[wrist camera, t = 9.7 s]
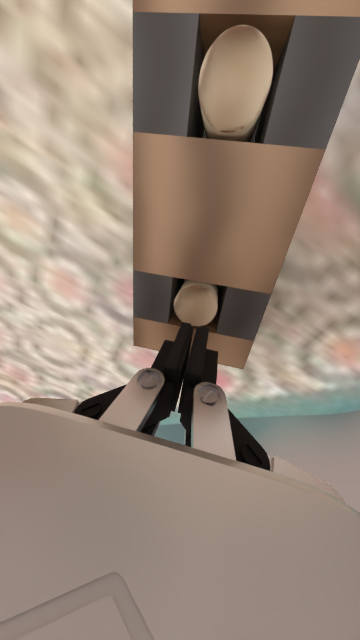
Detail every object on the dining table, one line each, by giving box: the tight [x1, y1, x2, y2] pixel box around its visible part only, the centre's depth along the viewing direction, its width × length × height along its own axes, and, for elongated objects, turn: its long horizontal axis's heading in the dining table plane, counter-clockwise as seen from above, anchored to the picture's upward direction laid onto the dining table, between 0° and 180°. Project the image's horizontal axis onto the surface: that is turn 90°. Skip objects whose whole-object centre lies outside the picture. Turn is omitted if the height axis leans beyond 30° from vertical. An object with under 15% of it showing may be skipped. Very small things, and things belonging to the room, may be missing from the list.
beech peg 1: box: [174, 279, 218, 326], centre depth 21 cm, size 4×4×8 cm
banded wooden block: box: [133, 0, 360, 369], centre depth 18 cm, size 12×26×8 cm, turn 173°
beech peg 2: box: [198, 25, 273, 143], centre depth 14 cm, size 4×4×8 cm
